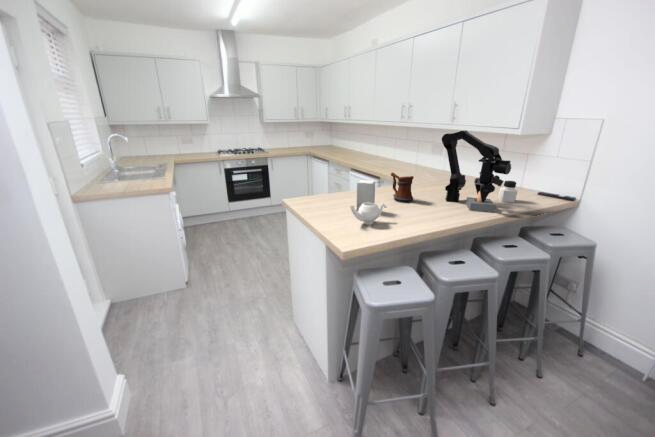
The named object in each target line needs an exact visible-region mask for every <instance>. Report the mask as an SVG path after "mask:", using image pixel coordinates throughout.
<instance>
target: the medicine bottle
mask: <svg viewBox="0 0 655 437" xmlns="http://www.w3.org/2000/svg"><path fill="white" fill-rule="evenodd" d="M516 185H517V182H516V181H514V180H505V181H504V182H503V187H500V188H499V191H498V192H499V193H498V196H497V199H498V200H499V201H500V202H502V203H516V199H517V195H518V190H516V187H517V186H516Z"/></svg>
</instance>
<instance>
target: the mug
mask: <svg viewBox="0 0 655 437" xmlns="http://www.w3.org/2000/svg"><path fill="white" fill-rule="evenodd" d="M390 176H391V177H392V182H393V183H392V190H393V191H394V193H395V194H393V200H394V201H396V202H398V203H401V202H402V203H405V204H410V203H412V202H414V196H413V194H412V184H413V180H414V177H415V176H413V175H411V176H399V175H397V174H396V173H395V172H391V173H390ZM396 179H397V180H398V181H397V180H396ZM397 186H398V187H397ZM397 188H398V189H397Z"/></svg>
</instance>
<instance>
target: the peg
mask: <svg viewBox="0 0 655 437" xmlns="http://www.w3.org/2000/svg"><path fill="white" fill-rule="evenodd" d="M476 198H477V202H482V200H481V195H480V191H479V192H478V195H477V197H476ZM482 203H485V201H484V202H482Z"/></svg>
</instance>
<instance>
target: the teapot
mask: <svg viewBox="0 0 655 437" xmlns="http://www.w3.org/2000/svg"><path fill="white" fill-rule="evenodd" d="M349 208H350V211H351V213H352V214H353V215H354V217H355V218H356V219H357V220H358V221H360V222H363V224H364V225H366V226H367V225H368V226H370V225H373V224H374V222H375V221H376V220H377V219H378V218H379V217H380V216H381V215H382V211H383V209H384V208H385V209H386V208H388V207H387V206H386V205H385V204H384V203H381V204H380V205H379V206H378V205H377V203H372V202H365V203H363V204H362V205H361V206H360V208H359V211H357V209H355V206H354V205H351V206H350V207H349Z"/></svg>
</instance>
